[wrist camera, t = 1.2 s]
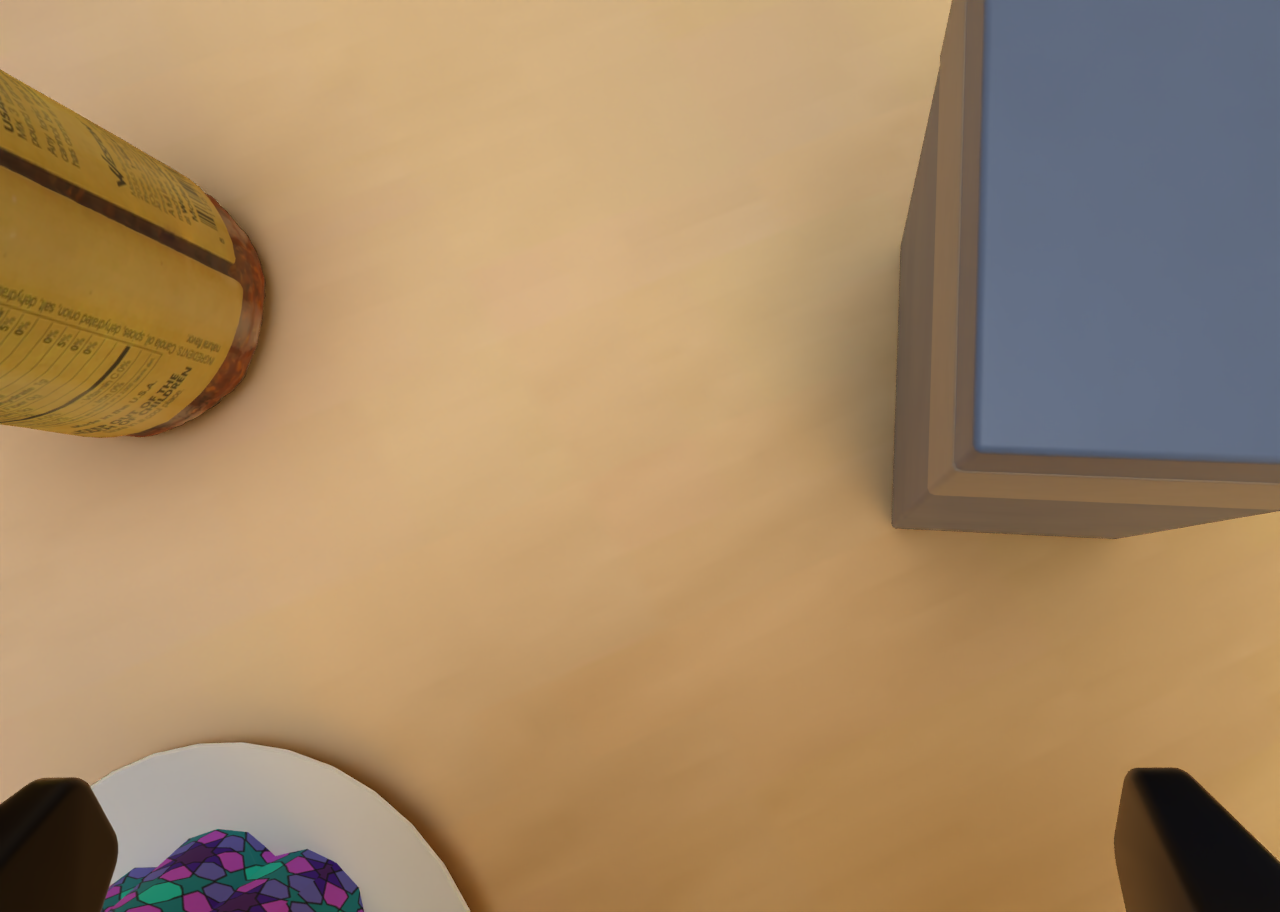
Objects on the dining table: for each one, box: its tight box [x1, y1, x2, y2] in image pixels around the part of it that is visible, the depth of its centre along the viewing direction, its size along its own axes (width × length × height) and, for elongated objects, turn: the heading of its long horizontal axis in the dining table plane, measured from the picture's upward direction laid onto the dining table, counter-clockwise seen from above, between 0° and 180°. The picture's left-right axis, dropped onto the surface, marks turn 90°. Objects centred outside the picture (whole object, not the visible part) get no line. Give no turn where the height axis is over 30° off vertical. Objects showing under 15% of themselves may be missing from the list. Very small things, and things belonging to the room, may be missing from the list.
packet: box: [892, 0, 1280, 539], centre depth 16 cm, size 6×4×13 cm
